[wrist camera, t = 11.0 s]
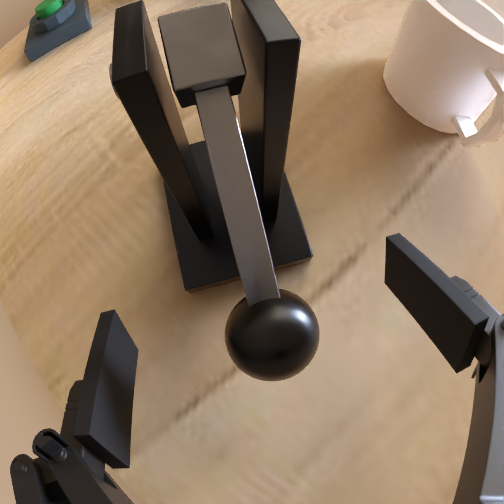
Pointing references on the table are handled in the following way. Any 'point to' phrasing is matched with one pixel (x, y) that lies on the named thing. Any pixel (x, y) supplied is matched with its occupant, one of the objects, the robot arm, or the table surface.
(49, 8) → the button
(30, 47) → the control block
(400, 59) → the mug
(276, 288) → the lever
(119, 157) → the table surface
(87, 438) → the robot arm
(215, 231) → the switch bracket
